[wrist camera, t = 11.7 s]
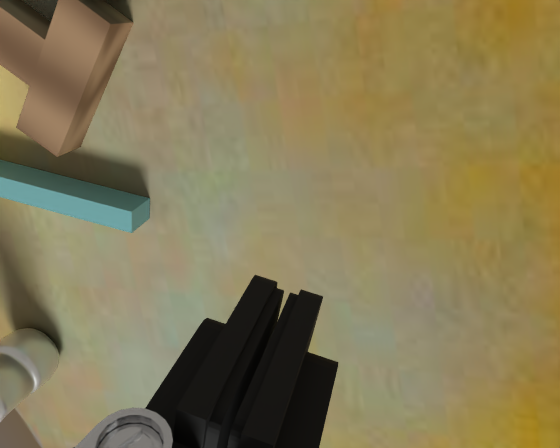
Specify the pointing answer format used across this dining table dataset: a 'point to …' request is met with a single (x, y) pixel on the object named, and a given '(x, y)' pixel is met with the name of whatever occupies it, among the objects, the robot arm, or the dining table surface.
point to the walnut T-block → (61, 65)
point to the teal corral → (73, 197)
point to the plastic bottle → (24, 366)
